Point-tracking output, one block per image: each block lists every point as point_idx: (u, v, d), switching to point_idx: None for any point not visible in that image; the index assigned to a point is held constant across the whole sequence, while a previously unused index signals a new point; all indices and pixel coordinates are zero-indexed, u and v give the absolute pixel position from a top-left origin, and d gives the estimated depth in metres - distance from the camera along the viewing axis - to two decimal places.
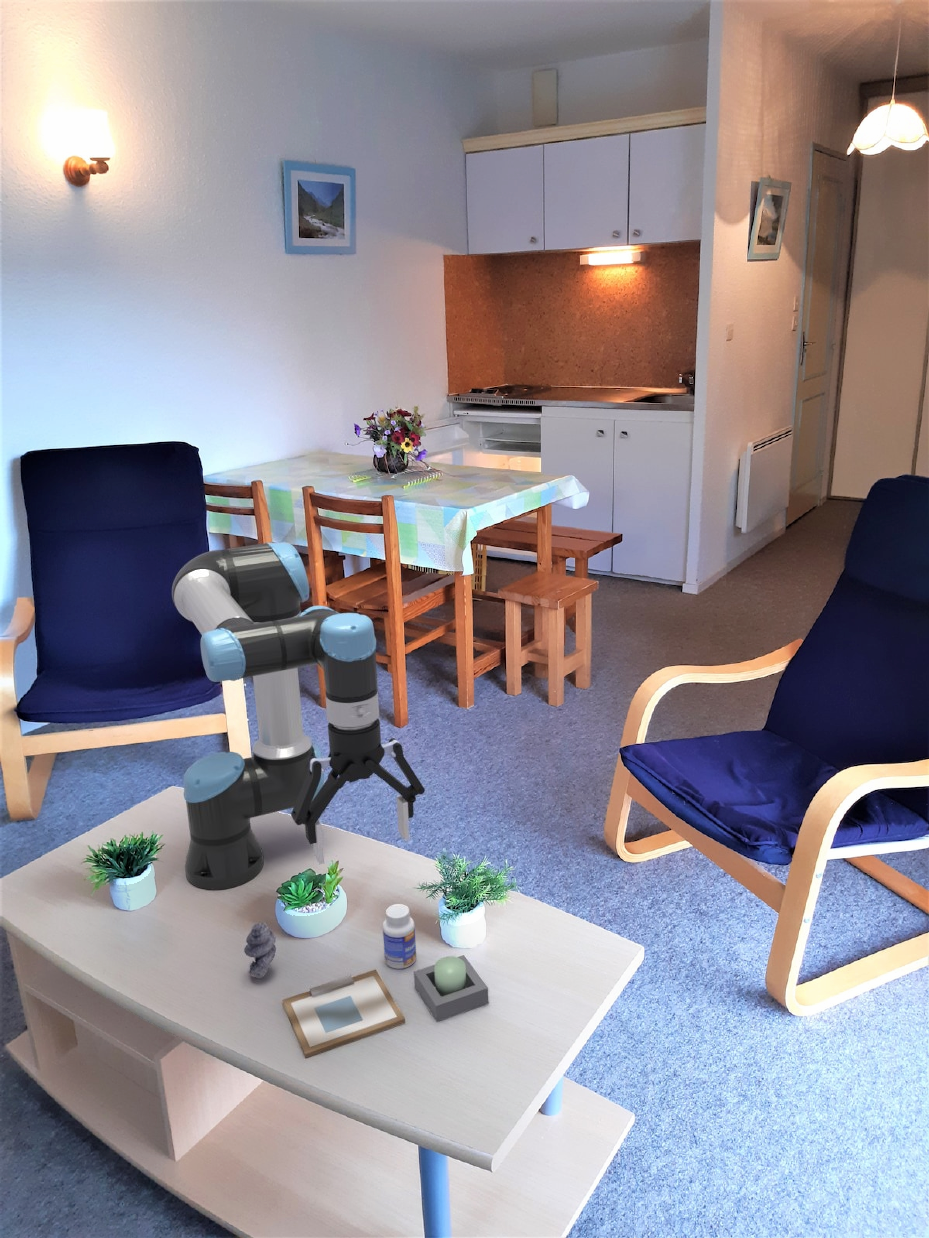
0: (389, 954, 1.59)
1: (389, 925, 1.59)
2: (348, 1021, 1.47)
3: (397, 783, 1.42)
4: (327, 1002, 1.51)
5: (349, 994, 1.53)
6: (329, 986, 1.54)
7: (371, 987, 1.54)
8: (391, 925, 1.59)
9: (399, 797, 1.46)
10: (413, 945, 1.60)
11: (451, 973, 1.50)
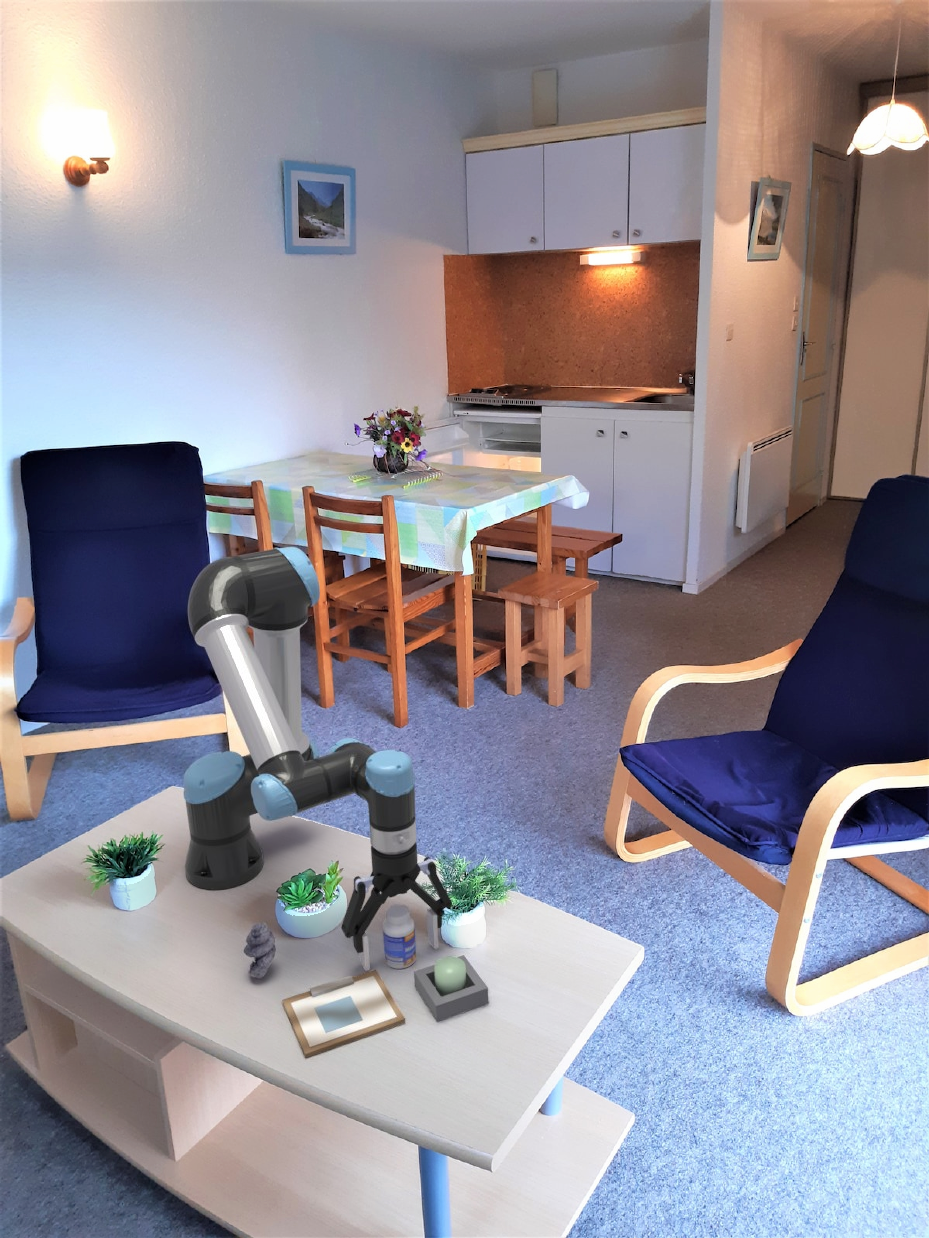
0: (389, 954, 1.59)
1: (389, 925, 1.59)
2: (348, 1021, 1.47)
3: (429, 898, 1.60)
4: (327, 1002, 1.51)
5: (349, 994, 1.53)
6: (329, 986, 1.54)
7: (371, 987, 1.54)
8: (391, 925, 1.59)
9: (429, 909, 1.63)
10: (413, 945, 1.60)
11: (451, 973, 1.50)
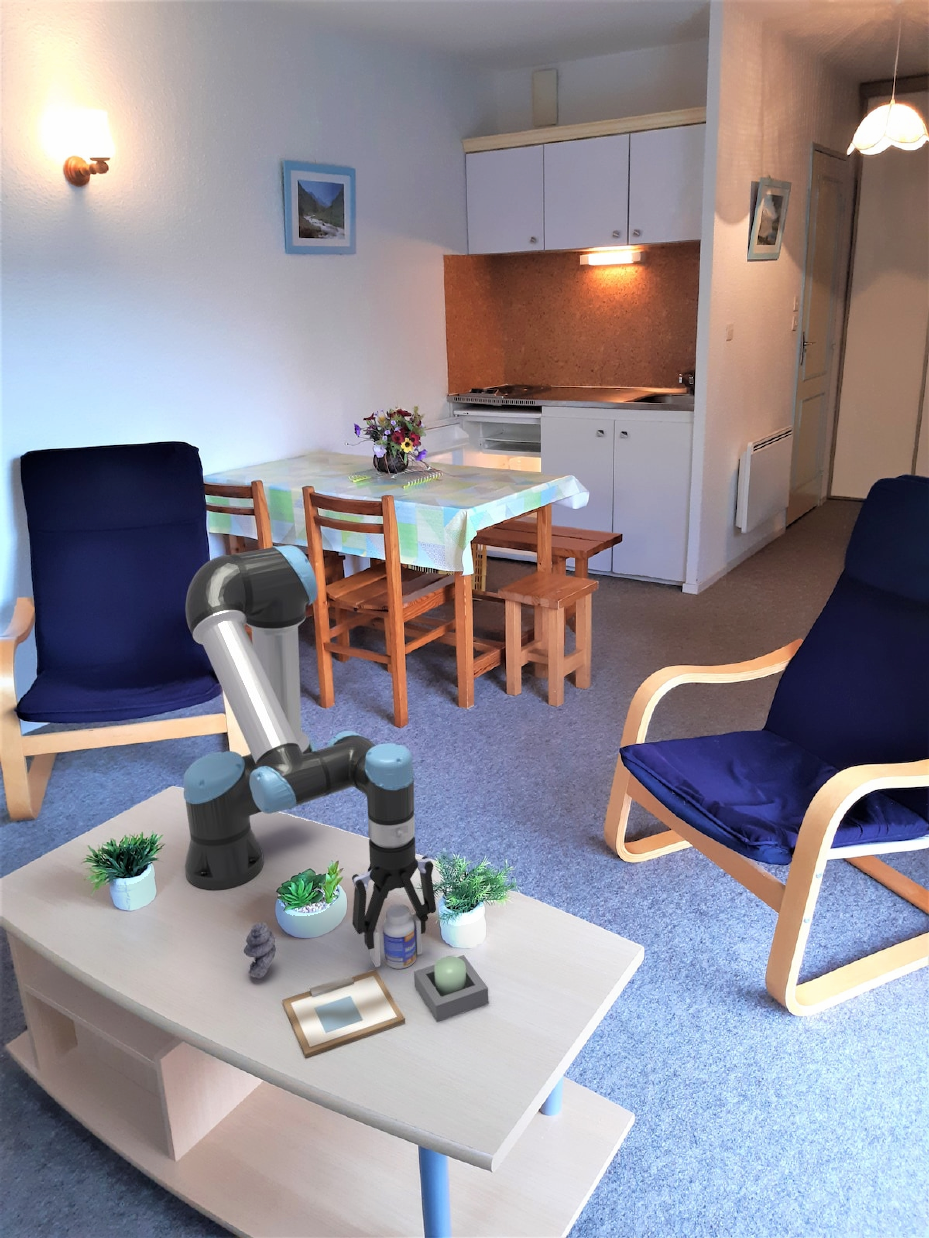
0: (389, 954, 1.59)
1: (389, 925, 1.59)
2: (348, 1021, 1.47)
3: (418, 900, 1.59)
4: (327, 1002, 1.51)
5: (349, 994, 1.53)
6: (329, 986, 1.54)
7: (371, 987, 1.54)
8: (391, 925, 1.59)
9: (413, 915, 1.62)
10: (413, 945, 1.60)
11: (451, 973, 1.50)
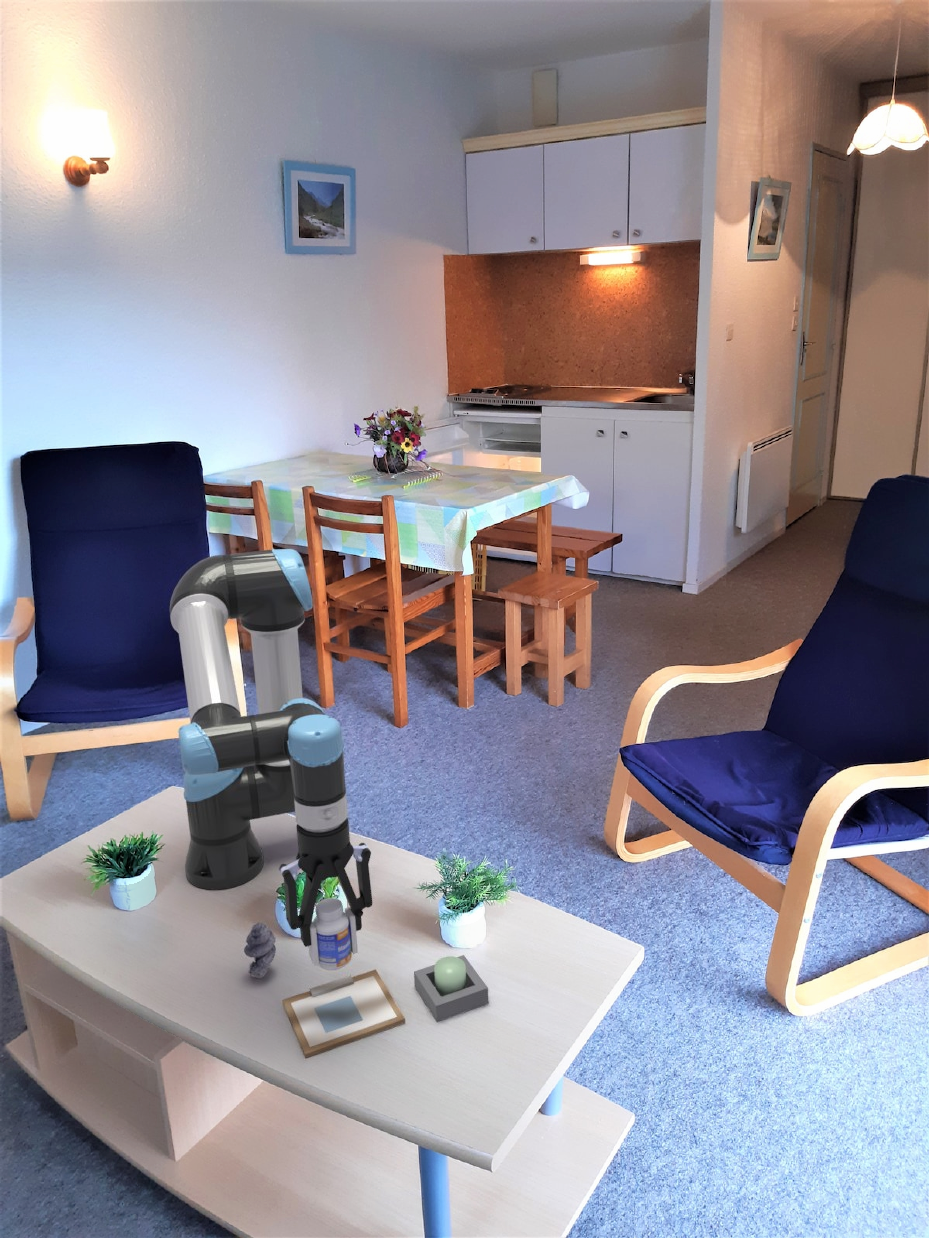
0: (321, 954, 1.42)
1: (320, 922, 1.42)
2: (348, 1021, 1.47)
3: (352, 892, 1.42)
4: (327, 1002, 1.51)
5: (349, 994, 1.53)
6: (329, 986, 1.54)
7: (371, 987, 1.54)
8: (322, 922, 1.42)
9: (347, 910, 1.45)
10: (347, 944, 1.43)
11: (451, 973, 1.50)
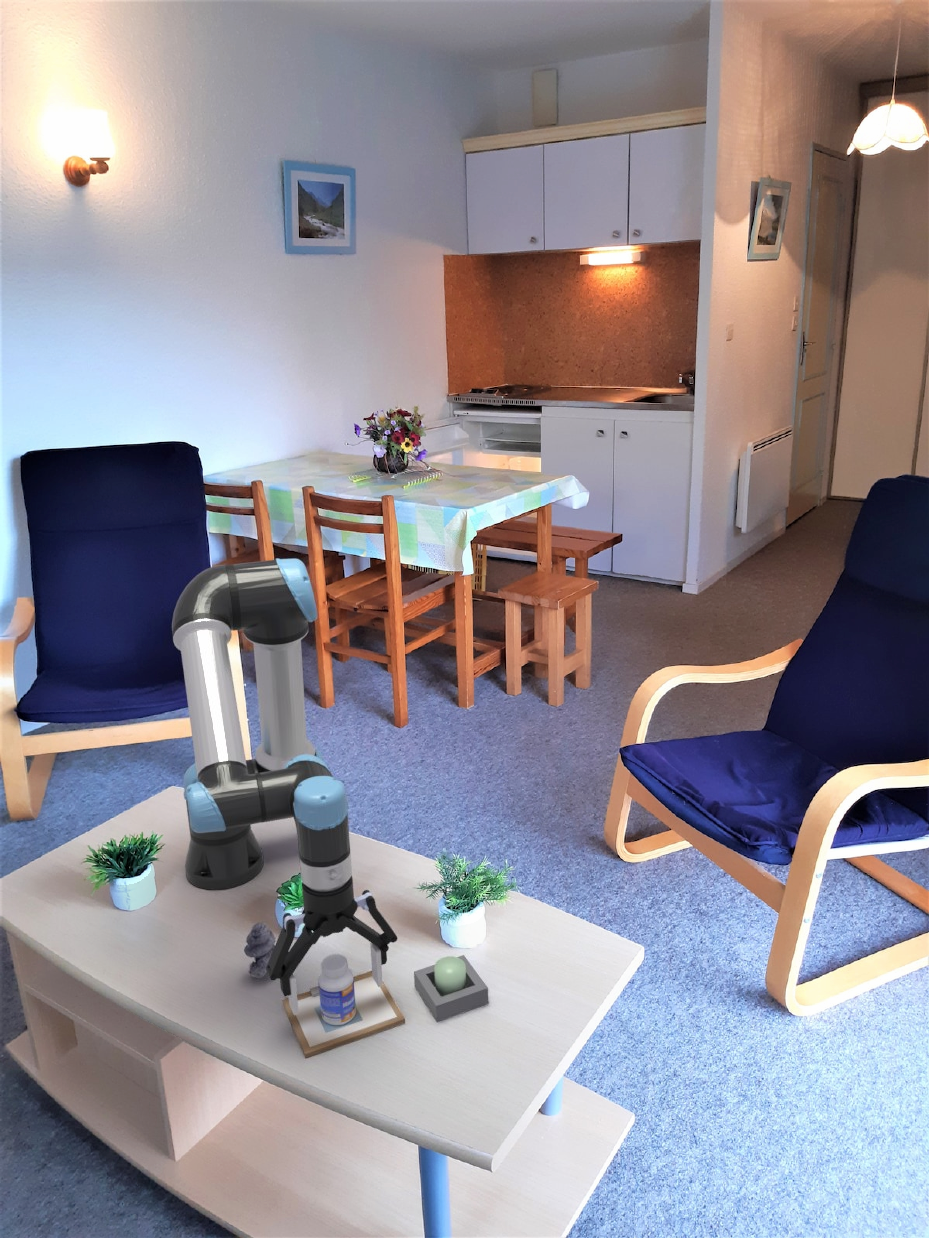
0: (326, 1009, 1.46)
1: (325, 978, 1.45)
2: None
3: (370, 934, 1.46)
4: None
5: None
6: None
7: (371, 987, 1.54)
8: (327, 978, 1.45)
9: (373, 944, 1.49)
10: (352, 999, 1.47)
11: (451, 973, 1.50)
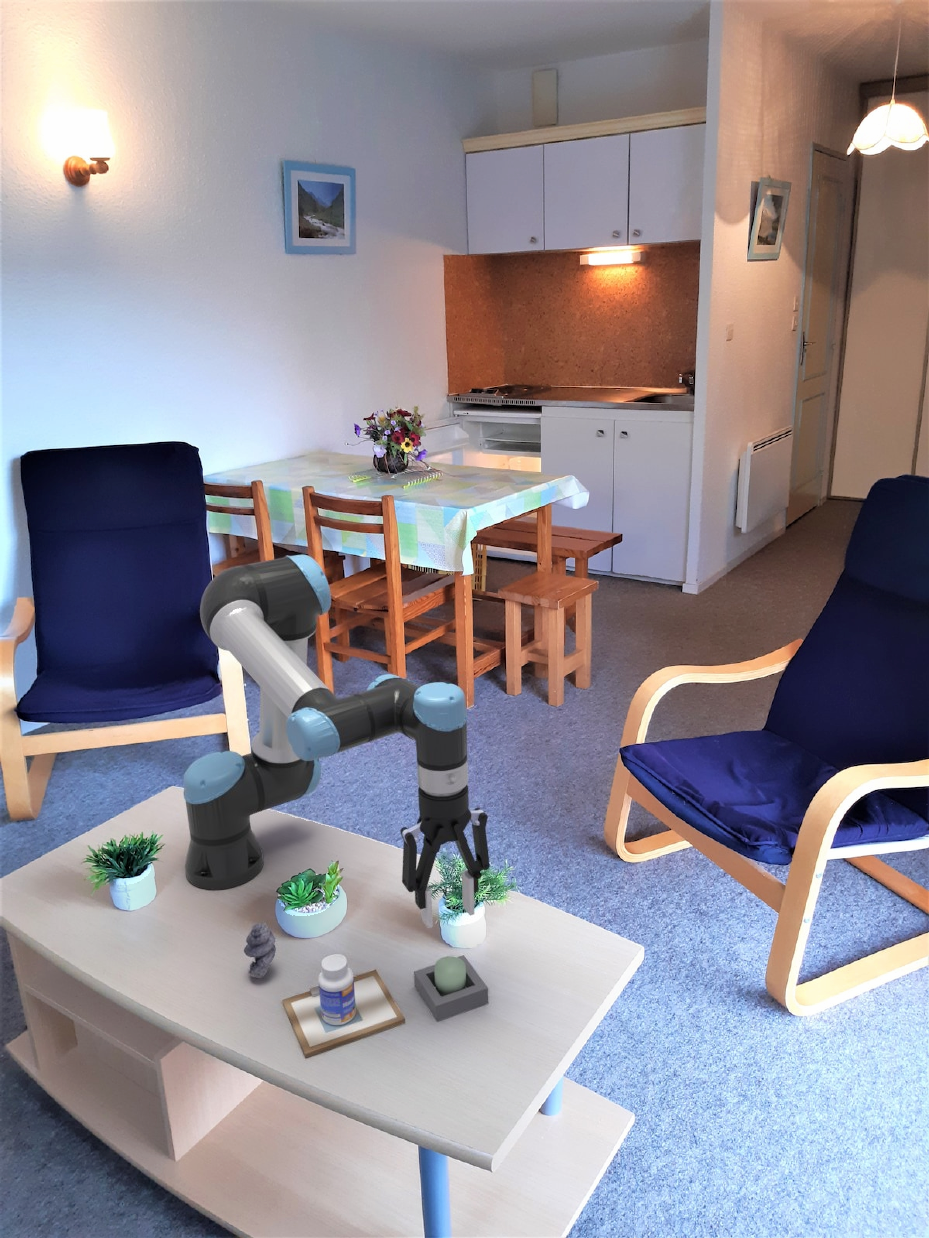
0: (326, 1009, 1.46)
1: (325, 978, 1.45)
2: None
3: (471, 855, 1.46)
4: None
5: None
6: None
7: (371, 987, 1.54)
8: (327, 978, 1.45)
9: (464, 872, 1.49)
10: (352, 999, 1.47)
11: (451, 973, 1.50)
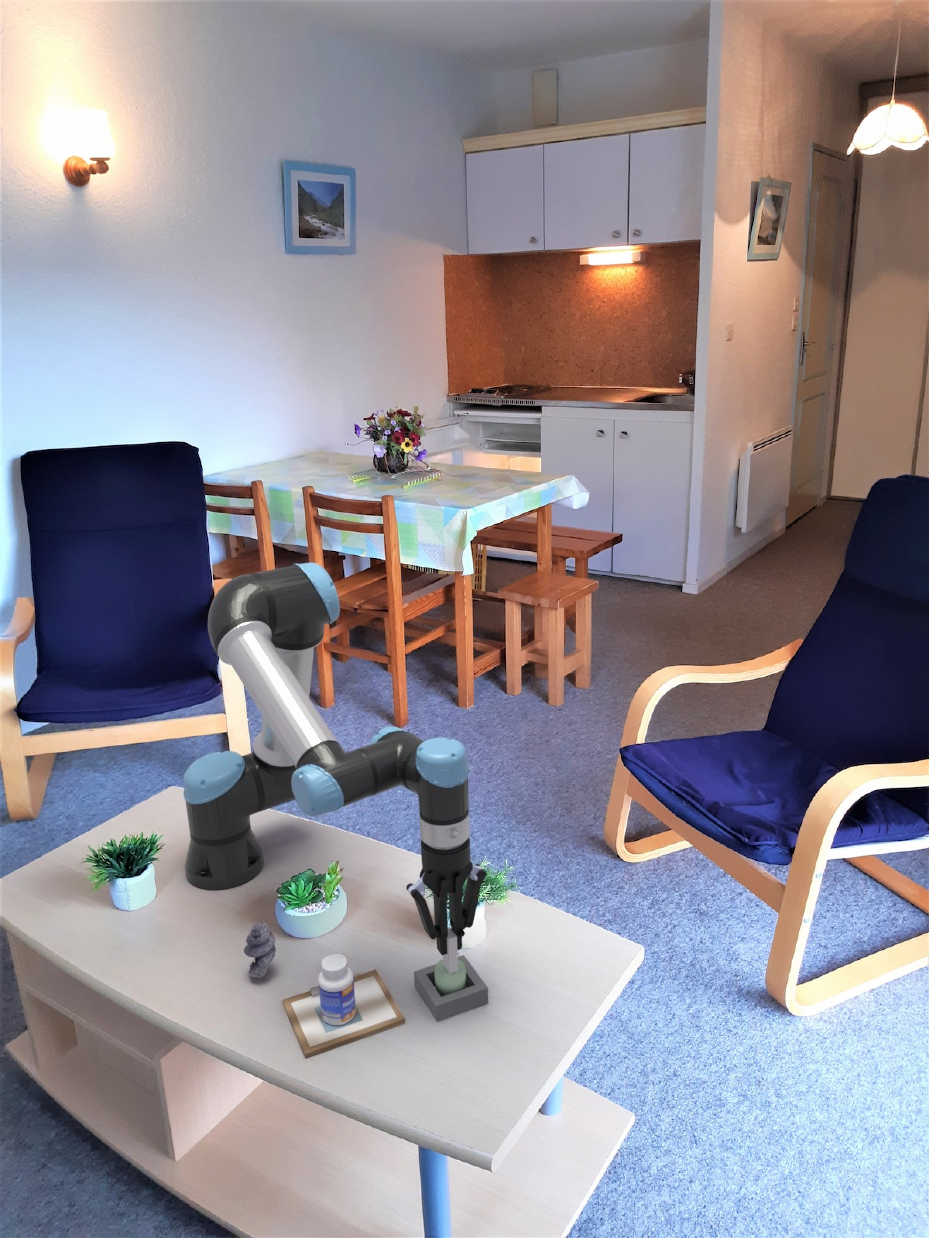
0: (326, 1009, 1.46)
1: (325, 978, 1.45)
2: None
3: (460, 911, 1.48)
4: None
5: None
6: None
7: (371, 987, 1.54)
8: (327, 978, 1.45)
9: (448, 929, 1.51)
10: (352, 999, 1.47)
11: (451, 975, 1.51)
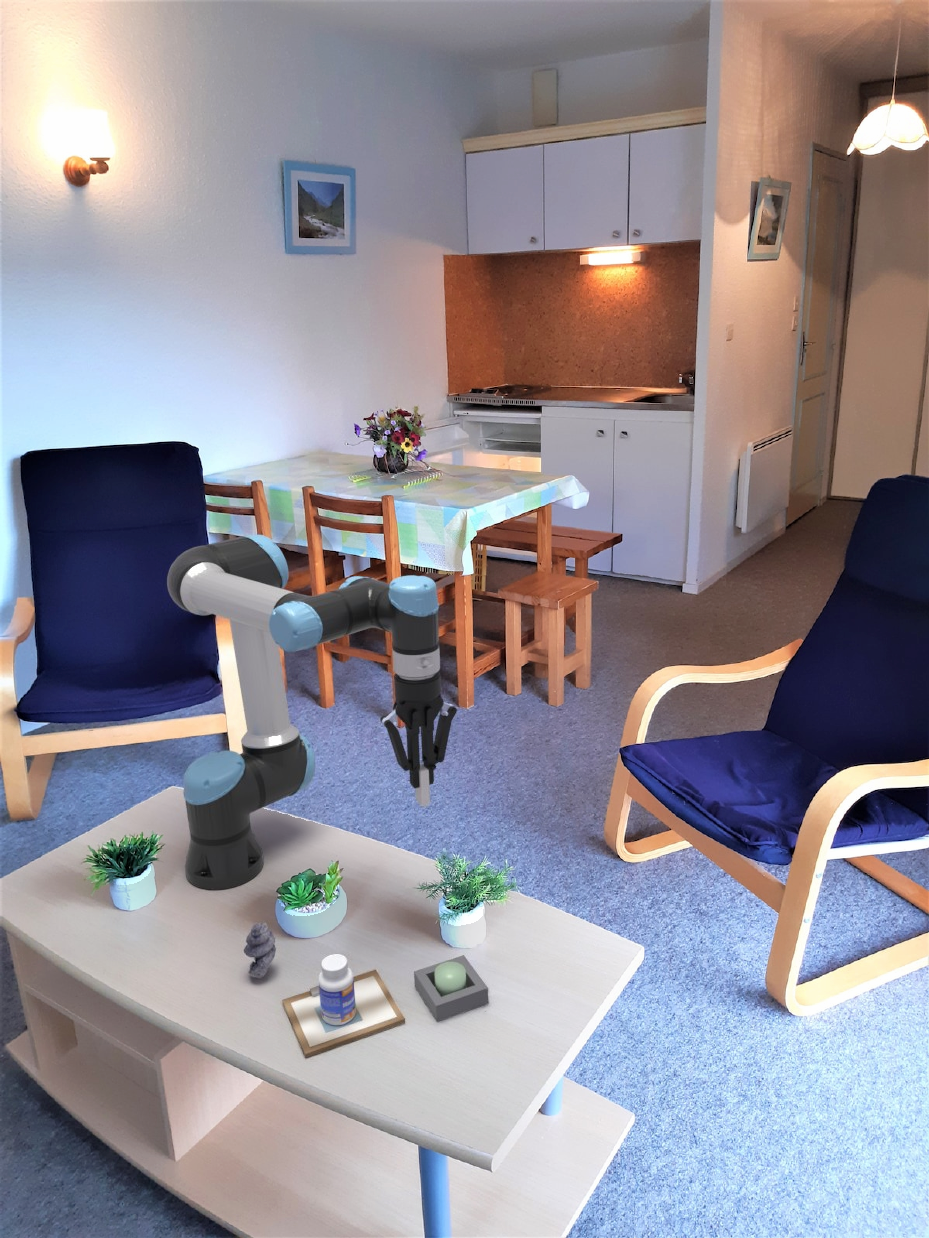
0: (326, 1009, 1.46)
1: (325, 978, 1.45)
2: None
3: (432, 745, 1.57)
4: None
5: None
6: None
7: (371, 987, 1.54)
8: (327, 978, 1.45)
9: (420, 765, 1.59)
10: (352, 999, 1.47)
11: (451, 978, 1.51)
